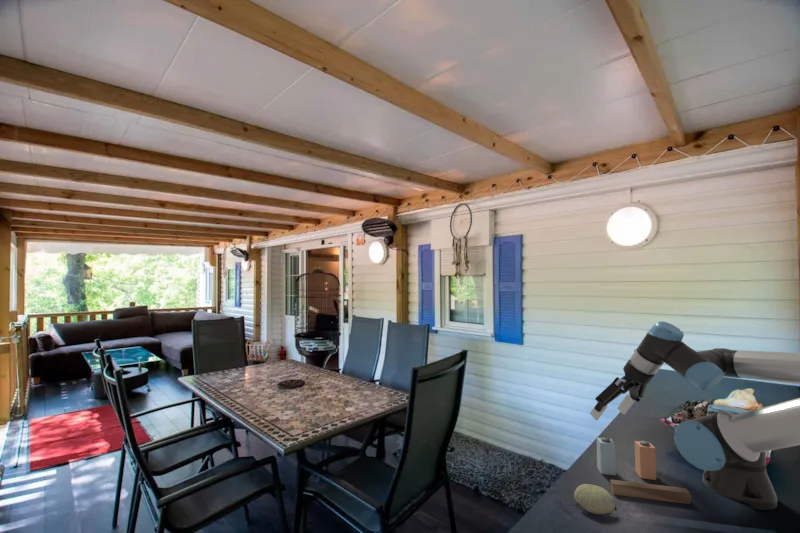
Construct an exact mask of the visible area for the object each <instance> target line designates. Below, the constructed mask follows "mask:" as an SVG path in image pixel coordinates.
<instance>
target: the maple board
mask: <svg viewBox="0 0 800 533" xmlns="http://www.w3.org/2000/svg"><path fill="white" fill-rule="evenodd" d="M609 491H611V493H612V495H614V496H615V495H617V496H622V497H623V496H625V497H631V498H639V499H647V500H655V501H661V502H662V501H664V502H671V503H680V504H685V505H686V504H687V505H691V492H690V491H689V490H688V489H687V488H686V487H685V488H684V487H678V486H670V485H669V486H668V485H661V484H652V483H644V482H635V481H626V480H617V479H609Z"/></svg>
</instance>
